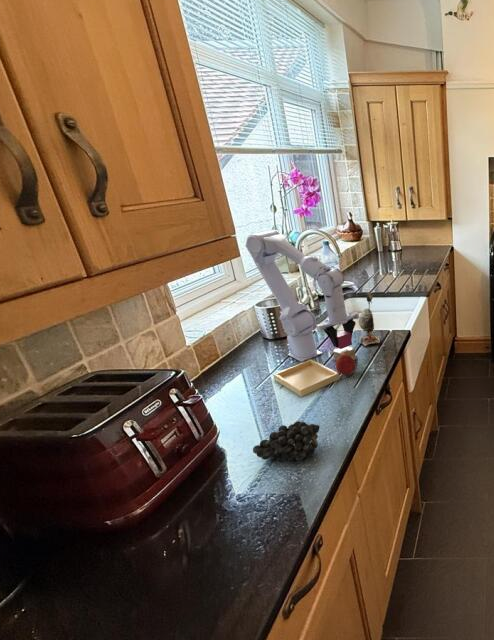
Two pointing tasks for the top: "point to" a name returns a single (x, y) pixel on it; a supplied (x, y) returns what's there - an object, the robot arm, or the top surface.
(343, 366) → the onion
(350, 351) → the ash block
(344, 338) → the mulberry block
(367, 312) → the grey figurine
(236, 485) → the top surface
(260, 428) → the top surface
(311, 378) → the tray
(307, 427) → the fruit
